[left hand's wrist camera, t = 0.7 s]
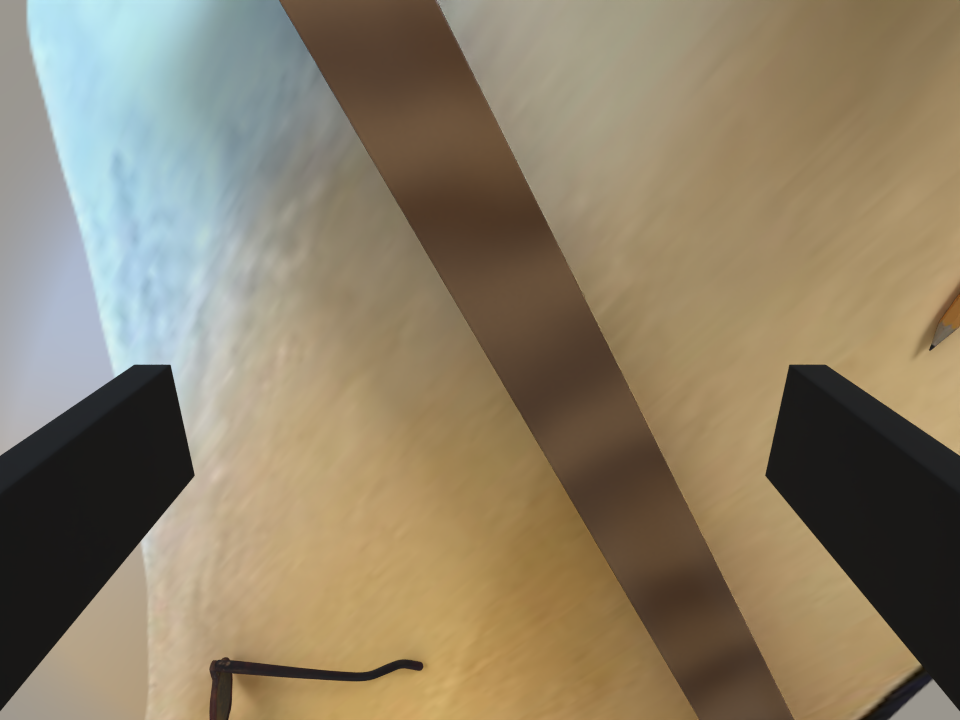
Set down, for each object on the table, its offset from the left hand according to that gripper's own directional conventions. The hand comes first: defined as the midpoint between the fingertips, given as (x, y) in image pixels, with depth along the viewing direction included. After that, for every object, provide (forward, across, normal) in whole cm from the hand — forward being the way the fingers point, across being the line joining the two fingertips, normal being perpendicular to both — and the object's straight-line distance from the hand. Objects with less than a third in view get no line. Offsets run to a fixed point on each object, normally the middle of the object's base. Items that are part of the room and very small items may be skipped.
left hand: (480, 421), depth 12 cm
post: (+21, +11, -18) cm, 29 cm away
